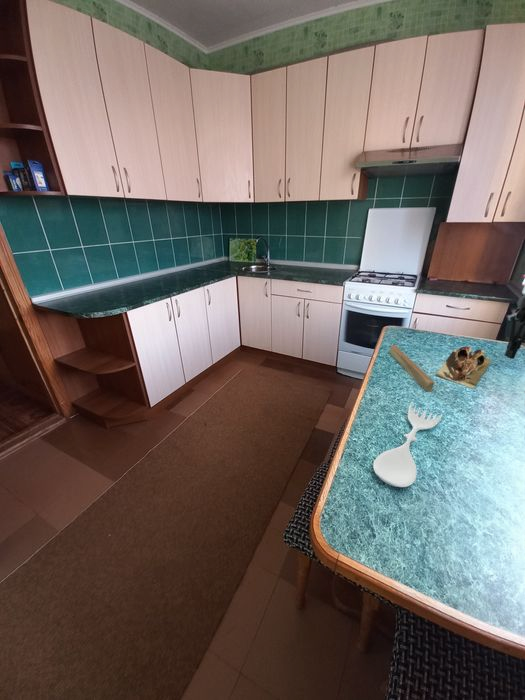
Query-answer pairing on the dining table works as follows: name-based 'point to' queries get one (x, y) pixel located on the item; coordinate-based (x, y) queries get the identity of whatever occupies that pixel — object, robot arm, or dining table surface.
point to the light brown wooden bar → (412, 368)
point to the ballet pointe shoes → (465, 366)
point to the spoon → (403, 453)
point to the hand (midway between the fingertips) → (509, 356)
